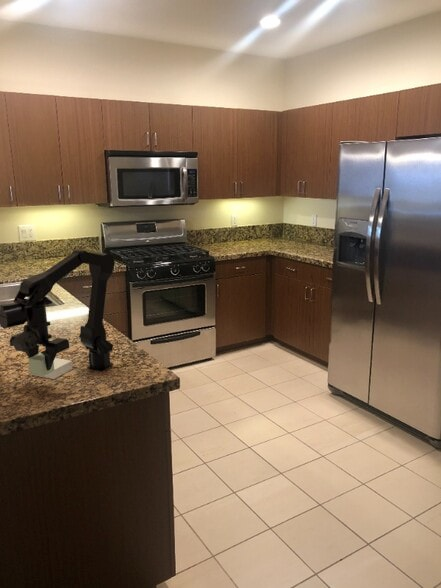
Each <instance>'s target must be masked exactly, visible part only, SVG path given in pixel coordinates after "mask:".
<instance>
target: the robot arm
mask: <svg viewBox="0 0 441 588" xmlns="http://www.w3.org/2000/svg"><path fill="white" fill-rule="evenodd" d="M83 264H85V265H88V271H89V273H90V276H91V286H90V287H91V289H90V296H89V297H90V298H89V306H88V317H87V321H86V323H85V325H80V328H79V329H80V333H79V335H78V338H80V342H81V344H82V345H83V346H84V347H85V348H86V350H88V363H89V365H88V366H87V368H86V369H88V370H92V371H98V372H104V371H105V370H107V369H108V368H111V367H112V366H113V365H114V363H113V362H111V356H110V355H111V353H110V352H112V351H113V347H114V344H113V343H111V342H110V341H108V340H107V331H106V327H105V326H104V313H105V307H106V306H105V305H106V295H107V287H108V280H109V279H110V278H111V276H112V275H113V272H114V268H115V264H116V261H115V258H114V257H113V256H112V255H111V254H109V253H103V252H94V253H92V252H89V251H87V250H83V249H74V250H73V251H72V252H71V253H69V254H68V255H66V256H65V257H64V258H63V259H61V260H60V261H58V262H57V263H55V264H54V265H52V266H51V267H50V268H48V269H47V270H45V271H43V272H41V273H38V274H35V275H32V276H30V277H27V278H25V279H23V280H22V281H21V282H20V285H19V290H18V292H17V293H16V295H15V297H14V298H13V302H11V303H8V304H7V303H6V304H5V303H4V304H0V327H1V328H2V329H4V330H5V329H10V328H13V327H17V326H20V325H23V332H19V333H17V334H14V335H12V336H11V337H10V339H9V346H11V347H13V348H14V350H15V351H17V352H22V353H25V354H26V355H27V357H28V359H29V358H31V357H33V356H35V355H37V354H39V349H40V347H45V349H44V350H43V351H40V353H42V354H43V355H44V356H45V363H46V368H47V370H50V369H51V367H52V364H53V361H54V359H55V358H56V356H57V355H58V354H60V353H61V352H63V351H65V350H68V349H69V348H70V342H69V340H68V339H67V338H61V337H57V338H54V339H52V338H53V336H52V334H49V328H48V327H50V326H51V321H48V318H47V316H48V315H47V310H46V305H52V303H53V301H52V300H50V299H49V298H48V297H47V295H48V294H49V293H50V292H51V291H52V290H53V287H54V285H55V284H57V283H58V282H59V281H60V280H63V279H64V278H65V277H66V276H68V275H69V274H71V273H72V272H73V271H74V270H76V269H77V268H79V267H81V265H83ZM51 339H52V340H51Z"/></svg>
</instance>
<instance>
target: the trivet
mask: <svg viewBox="0 0 441 588" xmlns="http://www.w3.org/2000/svg"><path fill="white" fill-rule="evenodd" d="M72 370H73V361H72V360H68V359H63V358H57V357H55V359H54V371H52V372H50V373H48V374H46V375H44V376H39V375H34V374H31V375H32V376H36V377H41V378H46V379H51V380H55V379H57V378H59V377H61V376H63V375H64V374H66V373H68V372H70V371H72Z"/></svg>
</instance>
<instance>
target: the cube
mask: <svg viewBox="0 0 441 588" xmlns="http://www.w3.org/2000/svg"><path fill="white" fill-rule="evenodd" d="M28 366H29V374H30V375H32V374H34V375H33V376H35V375H39V376H38V377H40V376H44V375H46V374H48V373H50V372H52V371H54V361H53V364H52V367H51V369H50V370H47V368H46V363H45V356H44V355H43V354H42V353H41V352H40V353H38V354H37V355H35V356H33V357H31V358H29V357H28Z"/></svg>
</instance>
